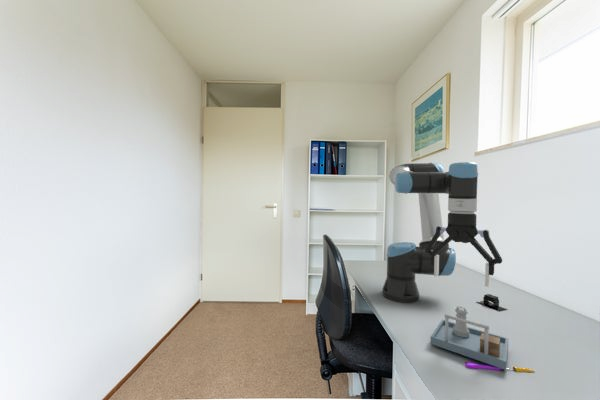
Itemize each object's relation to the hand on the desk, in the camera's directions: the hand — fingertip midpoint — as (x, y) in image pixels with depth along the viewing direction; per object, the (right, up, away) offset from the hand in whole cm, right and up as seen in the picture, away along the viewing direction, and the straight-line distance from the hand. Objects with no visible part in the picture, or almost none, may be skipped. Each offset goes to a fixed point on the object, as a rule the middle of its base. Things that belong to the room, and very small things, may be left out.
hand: (460, 280), depth 80 cm
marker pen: (0, -18, -15) cm, 23 cm away
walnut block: (0, -16, -12) cm, 20 cm away
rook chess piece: (-1, -16, -3) cm, 16 cm away
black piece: (+27, -19, +23) cm, 40 cm away
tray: (-1, -18, -6) cm, 19 cm away
